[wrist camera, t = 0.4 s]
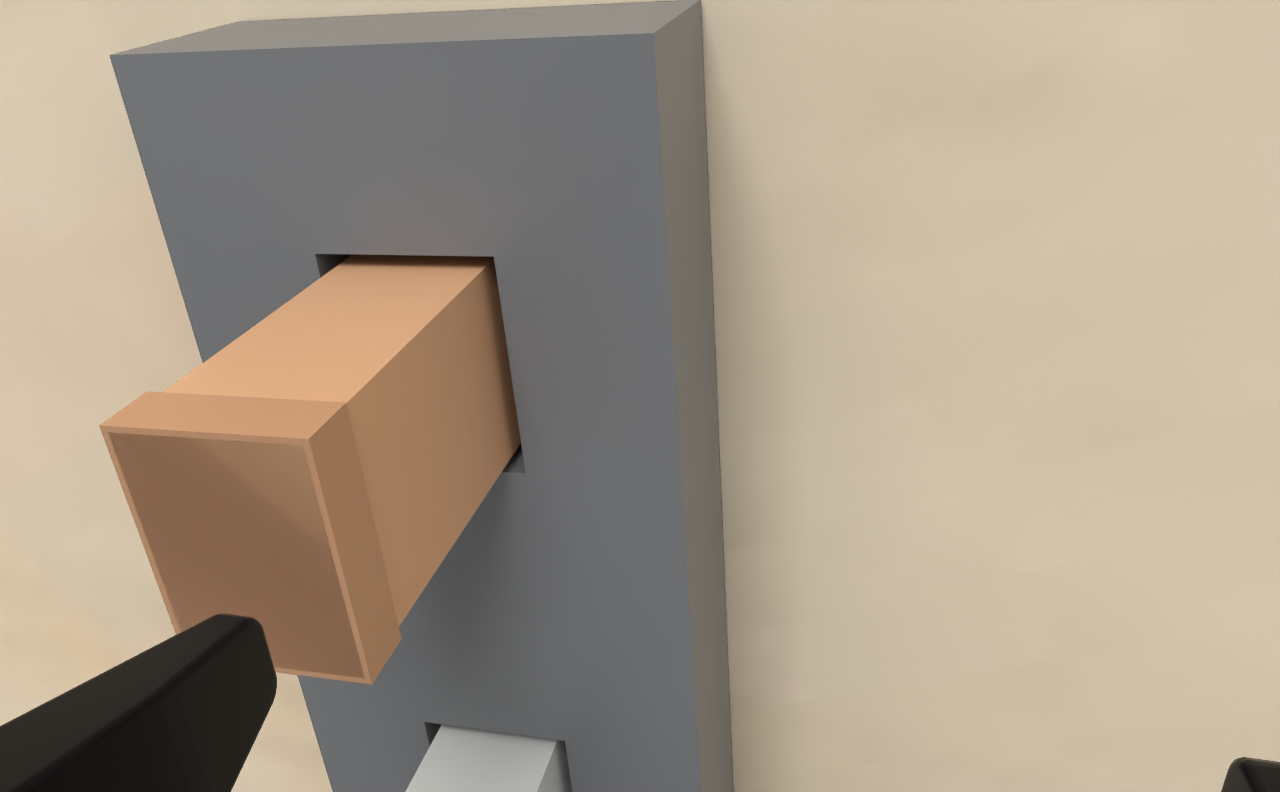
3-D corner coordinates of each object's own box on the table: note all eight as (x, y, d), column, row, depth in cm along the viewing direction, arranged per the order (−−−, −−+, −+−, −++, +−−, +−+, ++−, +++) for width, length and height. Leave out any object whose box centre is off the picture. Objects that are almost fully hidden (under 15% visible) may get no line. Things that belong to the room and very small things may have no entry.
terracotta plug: (570, 378, 23) (372, 684, 15) (443, 373, 24) (185, 660, 16) (549, 203, 22) (307, 438, 13) (412, 203, 22) (99, 425, 14)
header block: (736, 854, 30) (713, 983, 27) (428, 806, 33) (371, 918, 29) (700, -1, 19) (653, 33, 16) (237, 21, 21) (109, 55, 18)
